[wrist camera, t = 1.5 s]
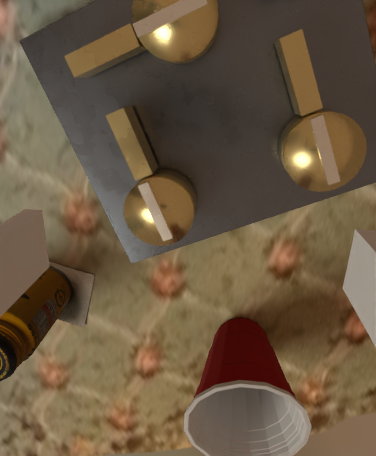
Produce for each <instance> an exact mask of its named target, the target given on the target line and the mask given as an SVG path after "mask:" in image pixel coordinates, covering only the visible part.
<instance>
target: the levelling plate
mask: <svg viewBox="0 0 376 456" xmlns="http://www.w3.org/2000/svg"><path fill="white" fill-rule="evenodd" d="M217 3H218V12H219V27H218V32H217V35H216V38H215V40H214V42H213V44H212V46H211V47H210V49H209V50H208V51H207V52H206V53H205V54H204V55H203V56H202V57H200V58H199V59H197V60H195V61H193V62H190V63H186V64H175V63H171V62H168V61H166V60H163V59H160V58H158V57H156V56H155V55H153V54H152V53H150V52H149V51H148V50H145V51H143V52H141V53H139V54H137V55H135V56H133V57H131V58H128V59H126V60H124V61H122V62H120V63H118V64H116V65H114V66H112V67H109V68H107V69H105V70H103V71H101V72H99V73H97V74H95V75H93V76H91V77H88V78H74V76H73V74H72V72H71V70H70V68H69V65H68V63H67V61H66V59H65V57H64V56H66V55H68V54H70V53H72V52H74V51H76V50H78V49H80V48H82V47H84V46H86V45H88V44H90V43H92V42H94V41H96V40H98V39H100V38H102V37H104V36H106V35H108V34H110V33H112V32H114V31H116V30H118V29H120V28H122V27H124V26H126V25H128V24H130V23H131V24H132V25H133V20H132V4H133V0H96V1H94V2H92V3H90V4H89V5H87V6H85V7H83V8H81V9H79V10H77V11H75V12H73V13H71V14H70V15H68V16H66V17H64V18H62V19H60V20H58V21H56V22H54V23H53V24H51V25H49V26H47V27H45V28H43V29H41V30H39V31H37V32H35V33H34V34H32V35H30V36H28V37H26V38H24V39H22V40H20V43H21V45H22V47H23V49H24V51H25V53H26V55H27V57H28V59H29V61H30V63H31V65H32V67H33V69H34V71H35V73H36V75H37V77H38V79H39V81H40V83H41V85H42V87H43V89H44V91H45V93H46V95H47V97H48V99H49V101H50V103H51V105H52V107H53V109H54V111H55V113H56V115H57V117H58V119H59V121H60V123H61V125H62V127H63V129H64V131H65V133H66V135H67V137H68V139H69V141H70V143H71V145H72V147H73V149H74V151H75V153H76V155H77V157H78V159H79V161H80V163H81V165H82V167H83V169H84V171H85V173H86V175H87V176H88V178H89V180H90V182H91V184H92V186H93V188H94V190H95V192H96V194H97V196H98V198H99V200H100V202H101V204H102V206H103V208H104V210H105V212H106V214H107V216H108V218H109V220H110V222H111V224H112V226H113V228H114V230H115V232H116V234H117V236H118V238H119V240H120V242H121V244H122V246H123V248H124V250H125V252H126V254H127V256H128V258H129V260H130V262H131V263H134V262H137V261H140V260H143V259H146V258H149V257H152V256H155V255H158V254H161V253H164V252H167V251H170V250H173V249H176V248H179V247H182V246H185V245H188V244H191V243H194V242H197V241H200V240H203V239H206V238H209V237H212V236H215V235H218V234H221V233H224V232H227V231H230V230H233V229H236V228H239V227H243V226H246V225H249V224H252V223H255V222H258V221H261V220H264V219H267V218H270V217H273V216H276V215H279V214H282V213H285V212H288V211H291V210H294V209H297V208H300V207H303V206H306V205H309V204H312V203H315V202H318V201H321V200H324V199H327V198H330V197H333V196H336V195H339V194H342V193H345V192H348V191H351V190H354V189H357V188H360V187H363V186H366V185H369V184H372V183H375V182H376V65H375V61H374V56H373V51H372V46H371V41H370V37H369V32H368V27H367V22H366V18H365V13H364V8H363V3H362V0H217ZM300 29H302V30H303V34H304V38H305V42H306V45H307V49H308V53H309V57H310V61H311V64H312V68H313V72H314V76H315V79H316V83H317V87H318V91H319V95H320V98H321V102H322V106H323V108H321V109H325V110H329V111H333V112H337V113H341V114H344V115H346V116H348V117H350V118H352V119H353V120H354V121H356V123H357V124H358V125H359V126H360V127H361V129H362V131H363V133H364V135H365V138H366V148H367V149H366V156H365V160H364V162H363V165H362V167H361V168H360V170H359V171H358V173H357V174H356V175H355V176H354V178H353V179H351V180H350V181H349V182H348V183H346V184H345V185H343V186H341V187H339V188H337V189H334V190H330V191H325V192H318V191H311V190H308V189H305V188H303V187H301V186H300V185H298V184H297V183H296V182H295V181H294V180H293V179H292V178H291V177H290V175H289V174H288V172H287V171H286V169H285V168H284V167H283V165H282V163H281V161H280V158H279V152H278V145H279V140H280V136H281V134H282V132H283V130H284V128H285V127H286V126H287V124H288V123H289V122H290V121H291V120H292V119H293V118H295V117H296V116H297V115H298V114H295V112H294V109H293V105H292V102H291V98H290V95H289V91H288V88H287V85H286V81H285V78H284V74H283V71H282V67H281V64H280V60H279V57H278V54H277V50H276V47H275V42H276V41H277V40H279V39H280V38H282V37H285V36H287V35H289V34H291V33H294V32H296V31H298V30H300ZM129 106H132V107H133V109H134V111H135V114H136V116H137V118H138V121H139V123H140V125H141V128H142V130H143V132H144V135H145V137H146V139H147V142H148V144H149V146H150V148H151V151H152V153H153V155H154V158H155V160H156V162H157V165H158V168H157V169H156V170H160V169H166V170H172V171H175V172H177V173H179V174H181V175H183V176H184V177H185V178H186V179H187V180H188V181H189V182H190V183H191V185H192V186H193V188H194V190H195V193H196V198H197V204H196V210H195V214H194V219H193V223H192V226H191V228H190V230H189V232H188V233H187V234H186V235H185V236H184V237H183V238H182V239H181V240H179V241H178V242H176V243H173V244H170V245H165V246H157V245H151V244H148V243H146V242H144V241H142V240H140V239H139V238H137V237H136V236H135V235H134V234H133V233H132V232H131V230H130V229H129V228H128V226H127V224H126V221H125V218H124V202H125V199H126V197H127V195H128V193H129V192H130V191H131V189H132V188H133V187H134V186H135V185H136V184H137V183H138V181H139V180H140V179H138V180H136V181H135V179H134V177H133V174H132V172H131V170H130V168H129V166H128V164H127V161H126V159H125V157H124V155H123V153H122V151H121V148H120V146H119V144H118V142H117V140H116V137H115V135H114V133H113V131H112V129H111V127H110V124H109V122H108V120H107V118H106V115H108V114H110V113H113V112H115V111H117V110H120V109H122V108H125V107H129Z"/></svg>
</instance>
